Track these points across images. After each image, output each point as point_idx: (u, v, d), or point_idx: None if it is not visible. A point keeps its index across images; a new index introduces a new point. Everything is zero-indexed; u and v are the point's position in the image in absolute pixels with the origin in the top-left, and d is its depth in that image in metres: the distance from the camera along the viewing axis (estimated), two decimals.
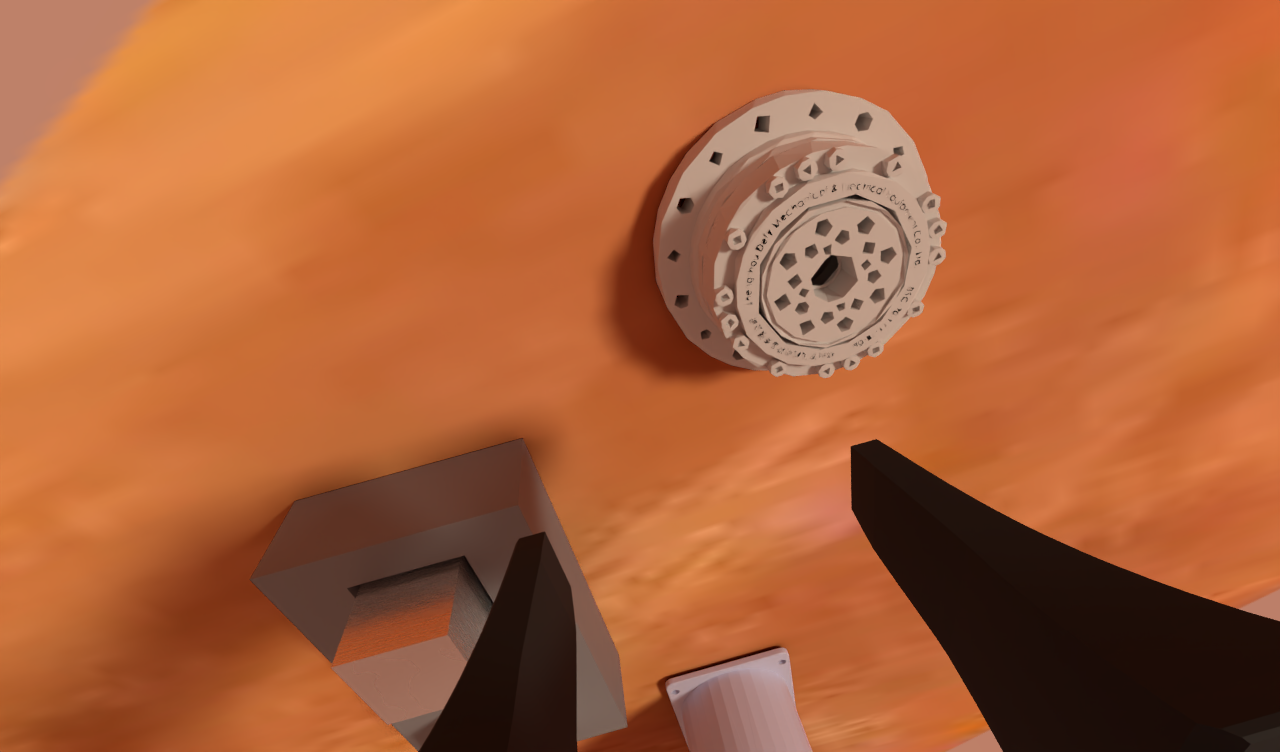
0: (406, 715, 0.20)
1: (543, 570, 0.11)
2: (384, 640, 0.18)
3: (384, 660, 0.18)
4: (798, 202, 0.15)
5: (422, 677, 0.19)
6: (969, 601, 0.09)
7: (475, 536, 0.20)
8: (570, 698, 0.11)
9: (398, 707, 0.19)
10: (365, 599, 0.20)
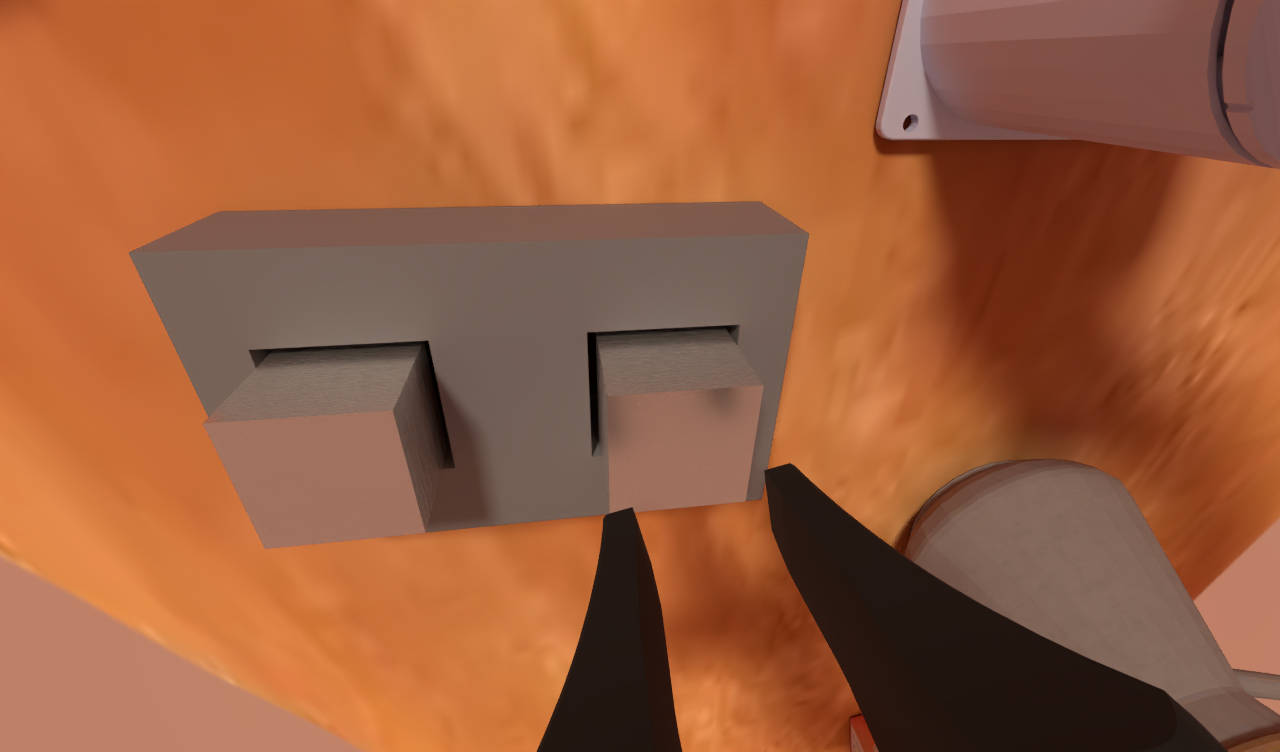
0: (409, 511, 0.14)
1: (639, 543, 0.11)
2: None
3: (260, 500, 0.13)
4: None
5: (313, 474, 0.13)
6: (855, 633, 0.09)
7: (206, 325, 0.14)
8: (667, 671, 0.11)
9: (384, 513, 0.14)
10: None
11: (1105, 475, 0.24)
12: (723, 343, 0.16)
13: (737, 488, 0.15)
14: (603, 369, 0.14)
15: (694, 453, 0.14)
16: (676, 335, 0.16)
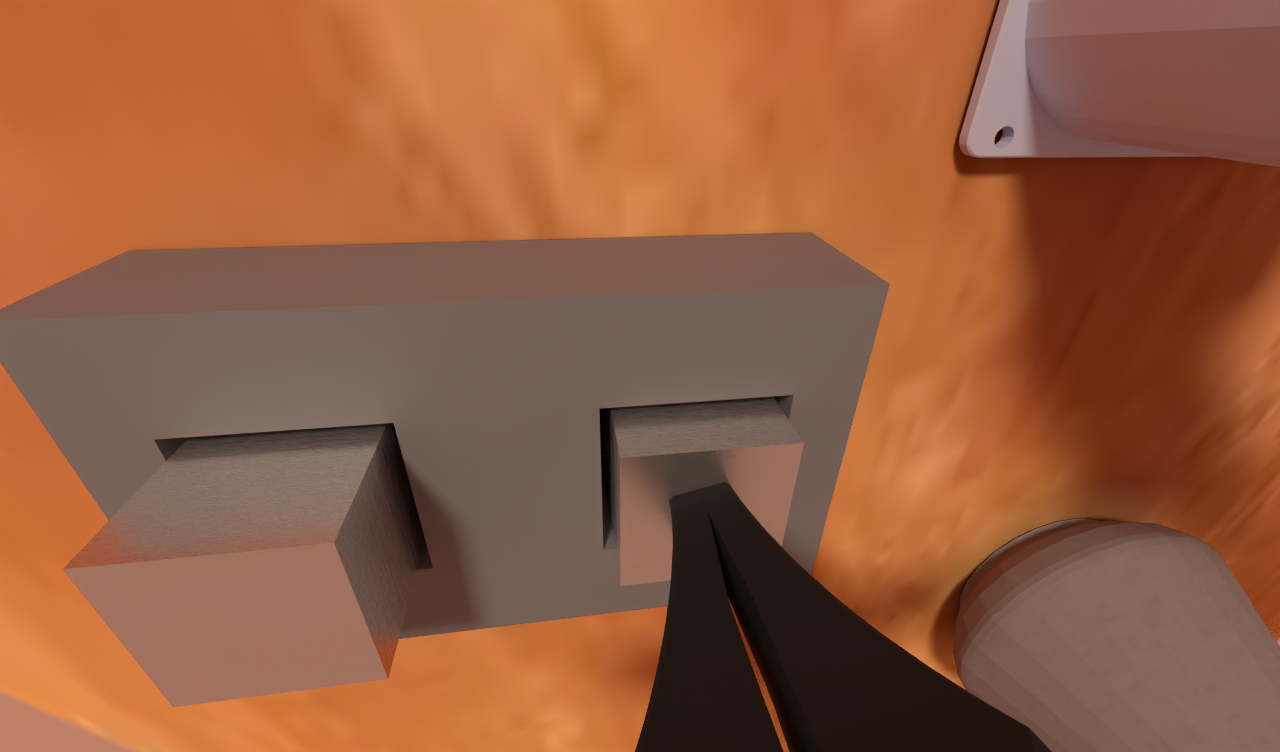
0: (365, 656, 0.10)
1: (710, 523, 0.11)
2: None
3: (159, 655, 0.10)
4: None
5: (229, 621, 0.09)
6: (768, 658, 0.09)
7: (93, 411, 0.10)
8: None
9: (331, 660, 0.10)
10: None
11: (1200, 544, 0.20)
12: None
13: None
14: (614, 421, 0.12)
15: None
16: None
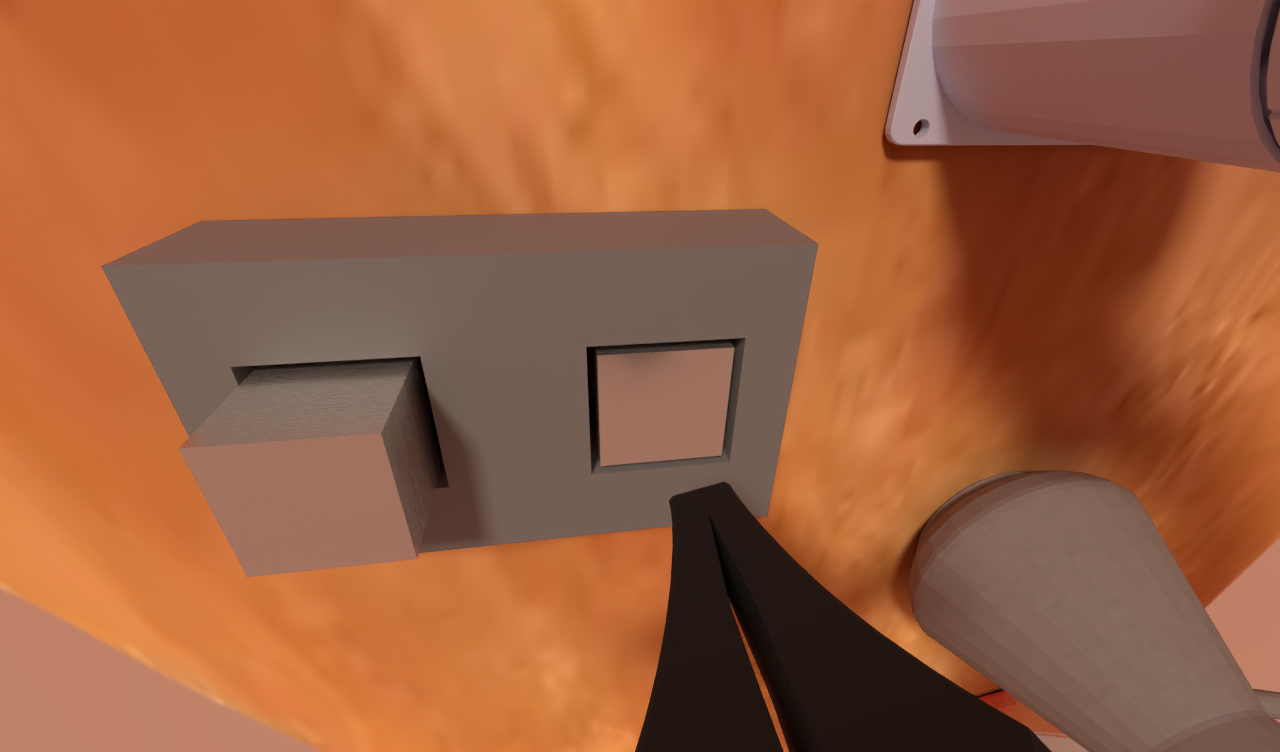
0: (400, 536, 0.13)
1: (710, 523, 0.11)
2: None
3: (241, 528, 0.12)
4: None
5: (297, 499, 0.12)
6: (768, 658, 0.09)
7: (185, 342, 0.13)
8: None
9: (373, 539, 0.13)
10: None
11: (1118, 488, 0.23)
12: None
13: (713, 443, 0.17)
14: None
15: (674, 410, 0.16)
16: None
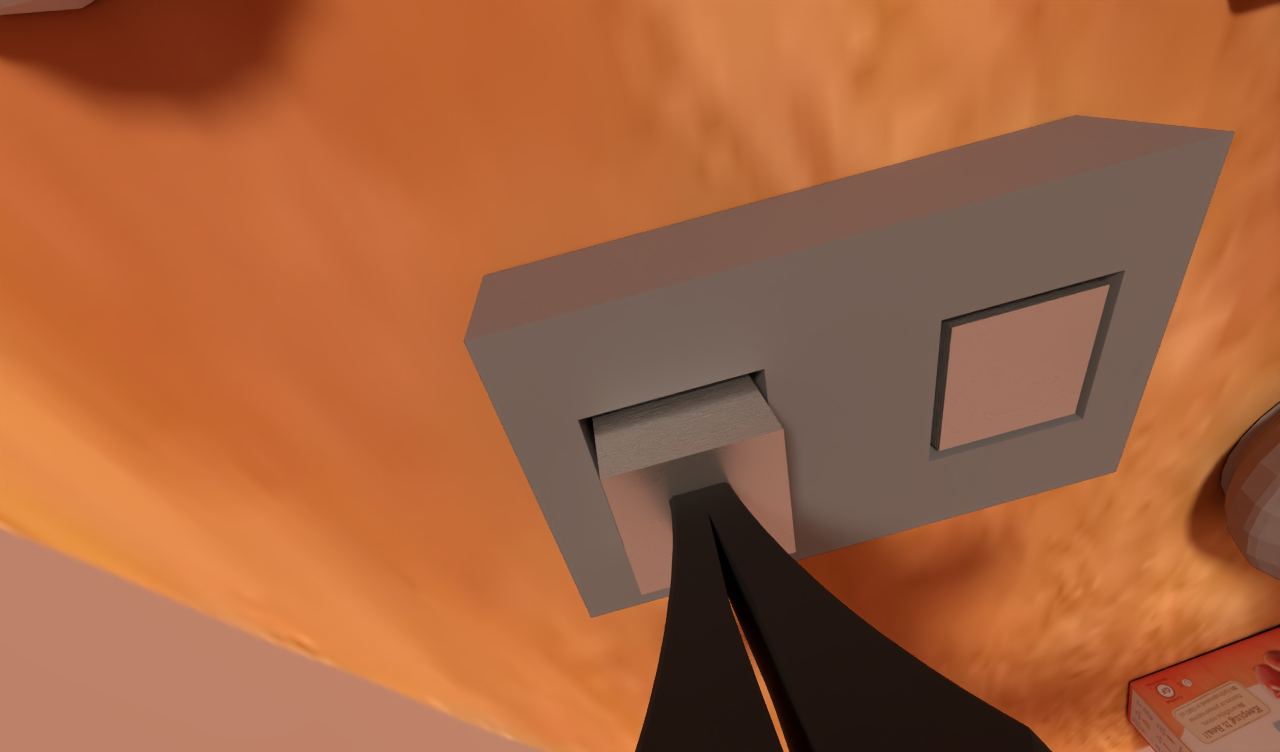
0: (783, 532, 0.13)
1: (710, 523, 0.11)
2: None
3: (643, 548, 0.12)
4: None
5: None
6: (768, 658, 0.09)
7: (537, 403, 0.12)
8: None
9: None
10: None
11: None
12: None
13: (1068, 401, 0.15)
14: None
15: (1029, 372, 0.14)
16: None
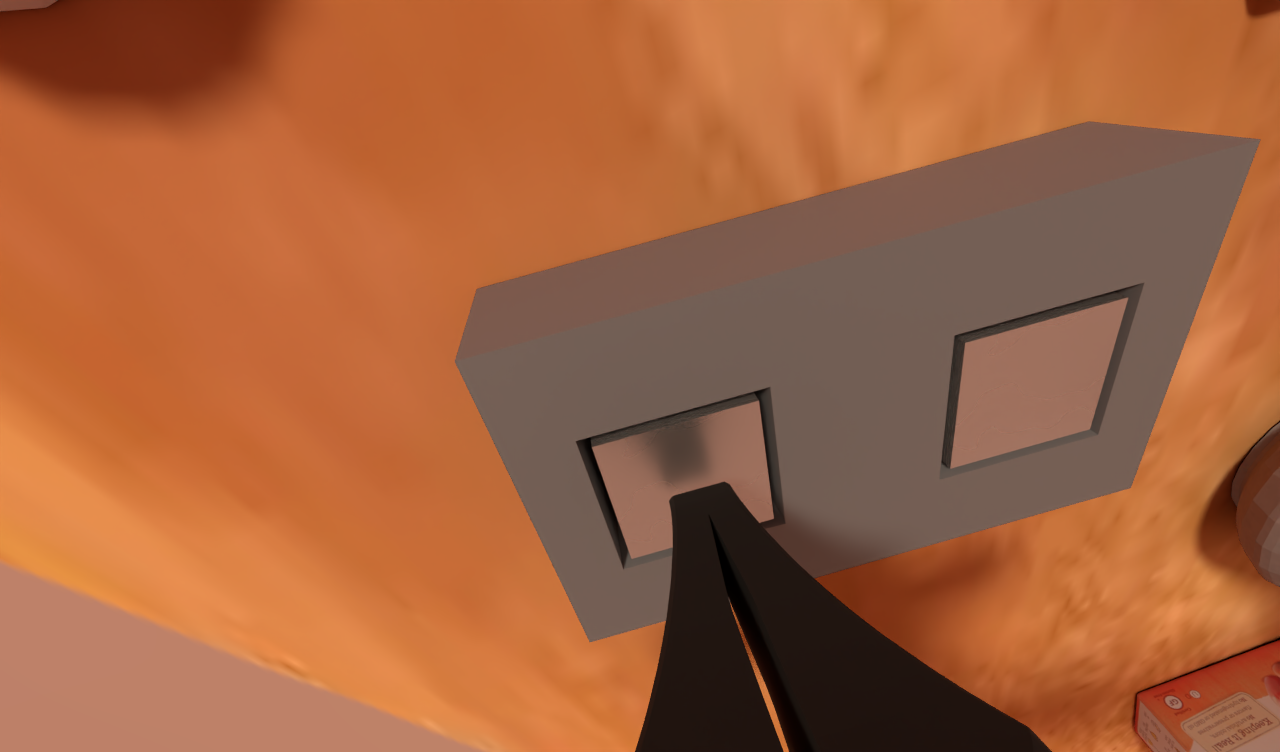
0: (762, 499, 0.14)
1: (710, 523, 0.11)
2: None
3: (632, 513, 0.13)
4: None
5: (680, 478, 0.13)
6: (768, 658, 0.09)
7: (533, 424, 0.12)
8: None
9: None
10: None
11: None
12: None
13: (1083, 417, 0.14)
14: None
15: (1044, 387, 0.13)
16: None
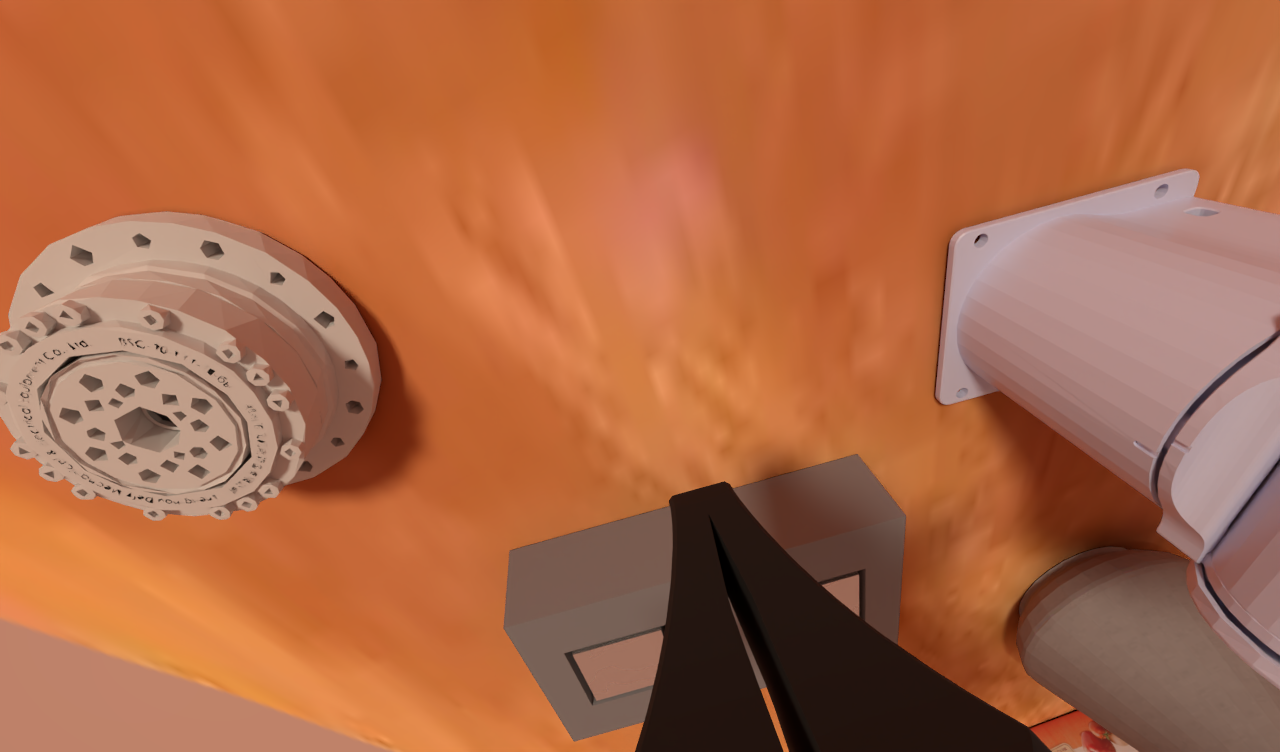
0: None
1: (710, 523, 0.11)
2: None
3: (595, 680, 0.24)
4: (85, 478, 0.15)
5: (621, 663, 0.24)
6: (768, 658, 0.09)
7: (541, 648, 0.22)
8: None
9: None
10: None
11: (1180, 566, 0.29)
12: None
13: None
14: None
15: None
16: None
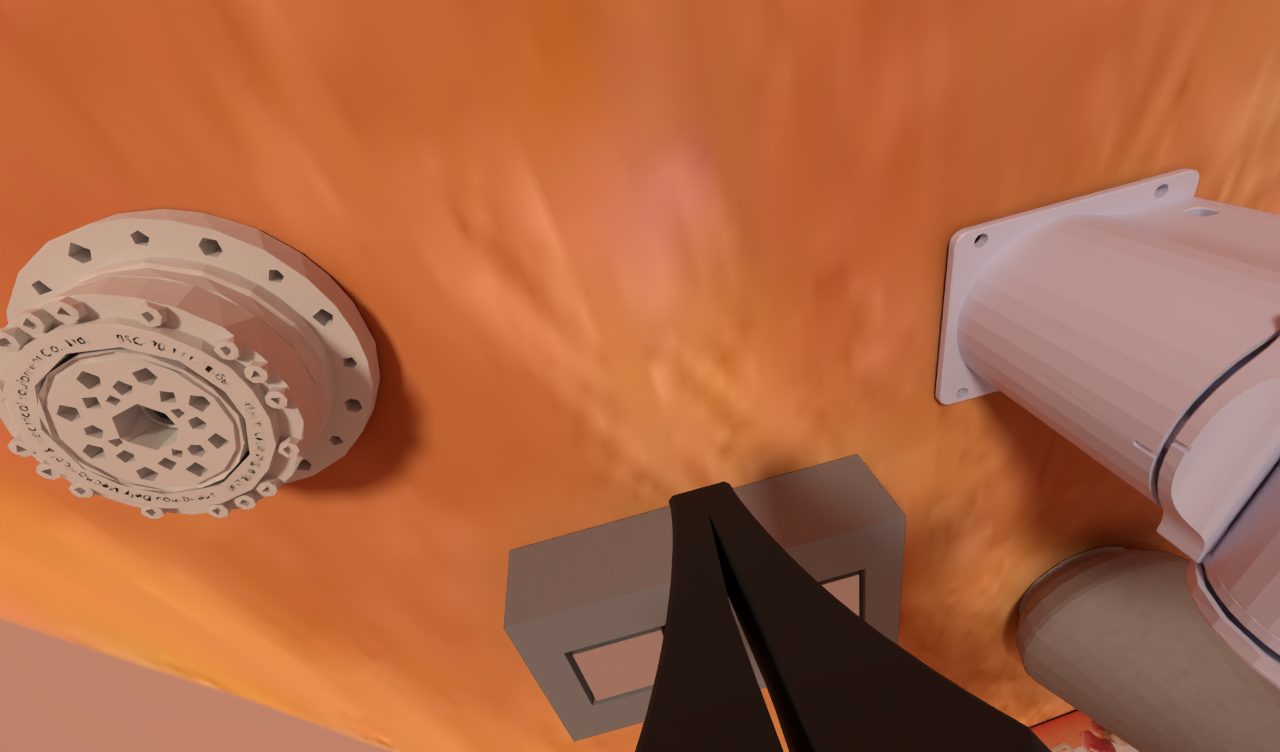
0: None
1: (710, 523, 0.11)
2: None
3: (595, 680, 0.24)
4: (82, 476, 0.15)
5: (621, 663, 0.24)
6: (768, 658, 0.09)
7: (541, 648, 0.22)
8: None
9: None
10: None
11: (1180, 566, 0.29)
12: None
13: None
14: None
15: None
16: None
